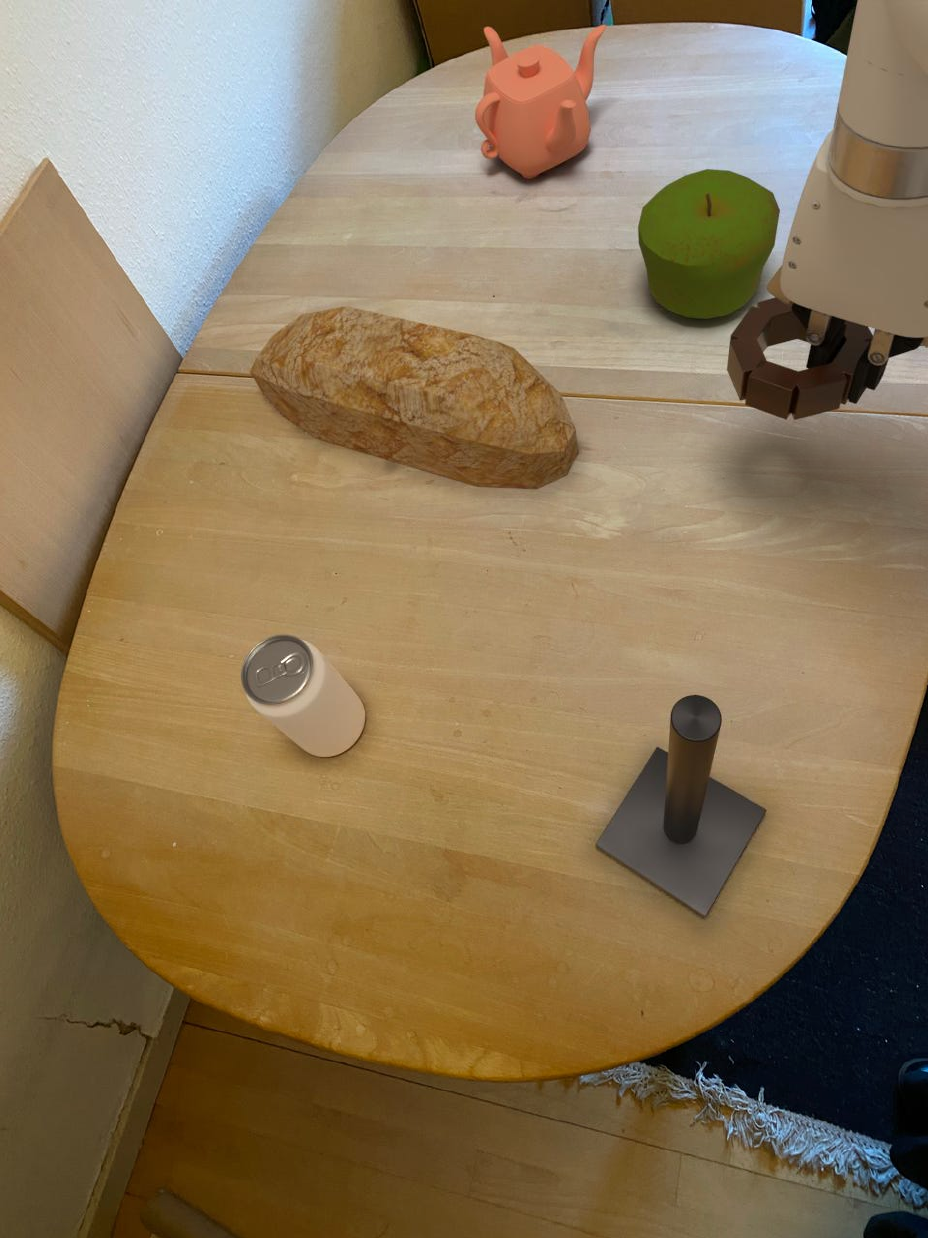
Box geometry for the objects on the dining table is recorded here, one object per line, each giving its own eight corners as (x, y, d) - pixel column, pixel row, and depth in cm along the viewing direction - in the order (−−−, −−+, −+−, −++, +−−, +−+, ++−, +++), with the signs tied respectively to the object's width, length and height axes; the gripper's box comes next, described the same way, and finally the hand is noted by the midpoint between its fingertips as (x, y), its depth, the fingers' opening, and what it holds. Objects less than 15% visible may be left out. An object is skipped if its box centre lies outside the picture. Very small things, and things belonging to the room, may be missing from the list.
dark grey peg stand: (765, 813, 62) (829, 688, 40) (704, 919, 59) (737, 849, 37) (657, 750, 65) (660, 604, 43) (596, 848, 63) (566, 745, 41)
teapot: (498, 113, 105) (483, 19, 95) (610, 113, 101) (606, 15, 91) (465, 191, 100) (445, 100, 90) (581, 195, 95) (574, 100, 86)
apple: (630, 334, 85) (627, 241, 75) (651, 248, 89) (651, 150, 80) (759, 341, 81) (774, 244, 71) (773, 251, 86) (789, 148, 76)
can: (374, 743, 70) (325, 692, 60) (303, 769, 70) (242, 722, 60) (357, 677, 73) (308, 617, 63) (289, 702, 74) (229, 646, 63)
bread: (595, 418, 81) (589, 342, 72) (550, 507, 77) (537, 440, 69) (297, 343, 94) (261, 272, 85) (246, 417, 90) (203, 350, 81)
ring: (883, 346, 60) (893, 314, 58) (826, 434, 58) (834, 405, 55) (766, 310, 64) (770, 278, 62) (708, 391, 62) (710, 362, 59)
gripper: (1105, 121, 41) (979, 382, 57) (795, 66, 48) (761, 314, 64) (1046, 219, 39) (933, 461, 55) (731, 148, 46) (712, 382, 62)
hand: (841, 380), depth 59 cm, fingers closed on ring, 2 cm apart
